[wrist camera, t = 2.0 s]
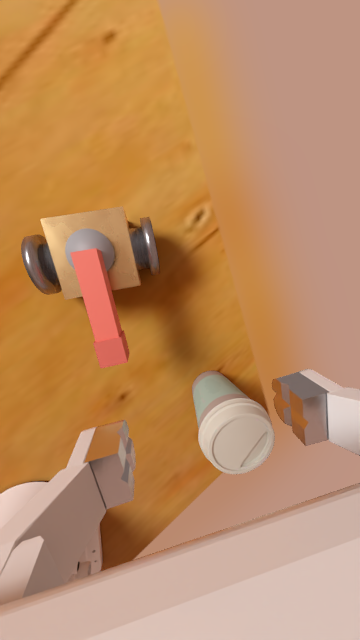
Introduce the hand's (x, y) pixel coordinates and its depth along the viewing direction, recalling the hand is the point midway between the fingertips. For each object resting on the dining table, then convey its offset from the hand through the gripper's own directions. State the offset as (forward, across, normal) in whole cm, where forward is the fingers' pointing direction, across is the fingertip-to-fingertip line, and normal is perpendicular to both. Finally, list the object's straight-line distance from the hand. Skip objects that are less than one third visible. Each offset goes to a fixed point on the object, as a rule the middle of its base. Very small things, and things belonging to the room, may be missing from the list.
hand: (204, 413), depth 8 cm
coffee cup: (+23, -5, +14) cm, 27 cm away
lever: (+17, +6, -4) cm, 18 cm away
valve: (+23, +6, -9) cm, 25 cm away
